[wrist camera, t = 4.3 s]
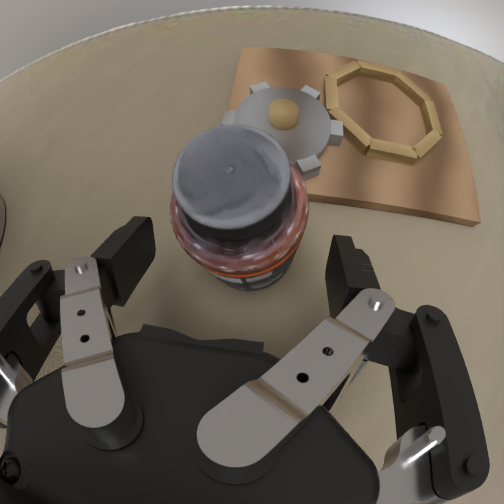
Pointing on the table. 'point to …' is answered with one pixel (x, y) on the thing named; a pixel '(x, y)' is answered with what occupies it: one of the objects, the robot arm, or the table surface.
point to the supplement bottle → (238, 205)
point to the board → (359, 131)
